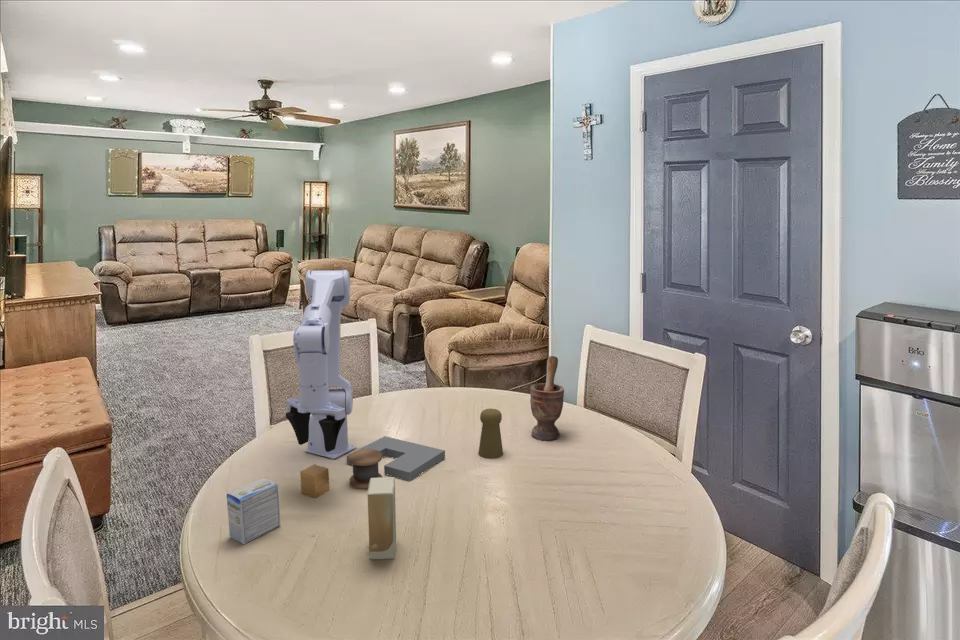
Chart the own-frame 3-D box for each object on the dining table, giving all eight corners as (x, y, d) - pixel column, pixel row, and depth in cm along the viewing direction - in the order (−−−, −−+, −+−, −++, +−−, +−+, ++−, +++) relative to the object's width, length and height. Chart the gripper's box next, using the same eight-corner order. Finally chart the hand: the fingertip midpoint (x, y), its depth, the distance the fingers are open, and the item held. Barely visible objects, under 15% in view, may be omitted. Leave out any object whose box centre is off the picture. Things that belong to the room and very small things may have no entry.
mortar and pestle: (526, 425, 164) (528, 354, 161) (558, 425, 165) (560, 354, 161) (531, 441, 153) (532, 365, 149) (565, 441, 153) (567, 365, 150)
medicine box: (266, 519, 114) (263, 476, 113) (281, 526, 112) (278, 483, 110) (229, 537, 108) (225, 492, 106) (244, 545, 106) (240, 499, 104)
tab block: (301, 493, 125) (300, 471, 124) (315, 486, 128) (314, 464, 127) (315, 498, 123) (314, 475, 122) (329, 490, 126) (328, 468, 125)
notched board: (346, 463, 139) (346, 455, 139) (385, 443, 151) (384, 436, 151) (409, 481, 131) (409, 472, 130) (444, 458, 143) (444, 450, 142)
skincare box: (372, 540, 107) (370, 476, 105) (396, 539, 108) (395, 475, 105) (368, 561, 101) (366, 493, 99) (394, 560, 101) (393, 492, 99)
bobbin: (342, 484, 129) (341, 458, 128) (364, 472, 135) (363, 446, 134) (368, 491, 126) (367, 464, 124) (389, 479, 132) (388, 453, 130)
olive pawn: (501, 459, 142) (501, 415, 140) (475, 457, 143) (476, 413, 141) (505, 449, 148) (505, 407, 146) (480, 447, 149) (481, 405, 147)
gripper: (273, 383, 123) (277, 446, 125) (326, 393, 116) (329, 460, 118) (299, 375, 129) (302, 435, 131) (351, 384, 122) (353, 448, 124)
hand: (316, 446), depth 125 cm, fingers open, 7 cm apart
